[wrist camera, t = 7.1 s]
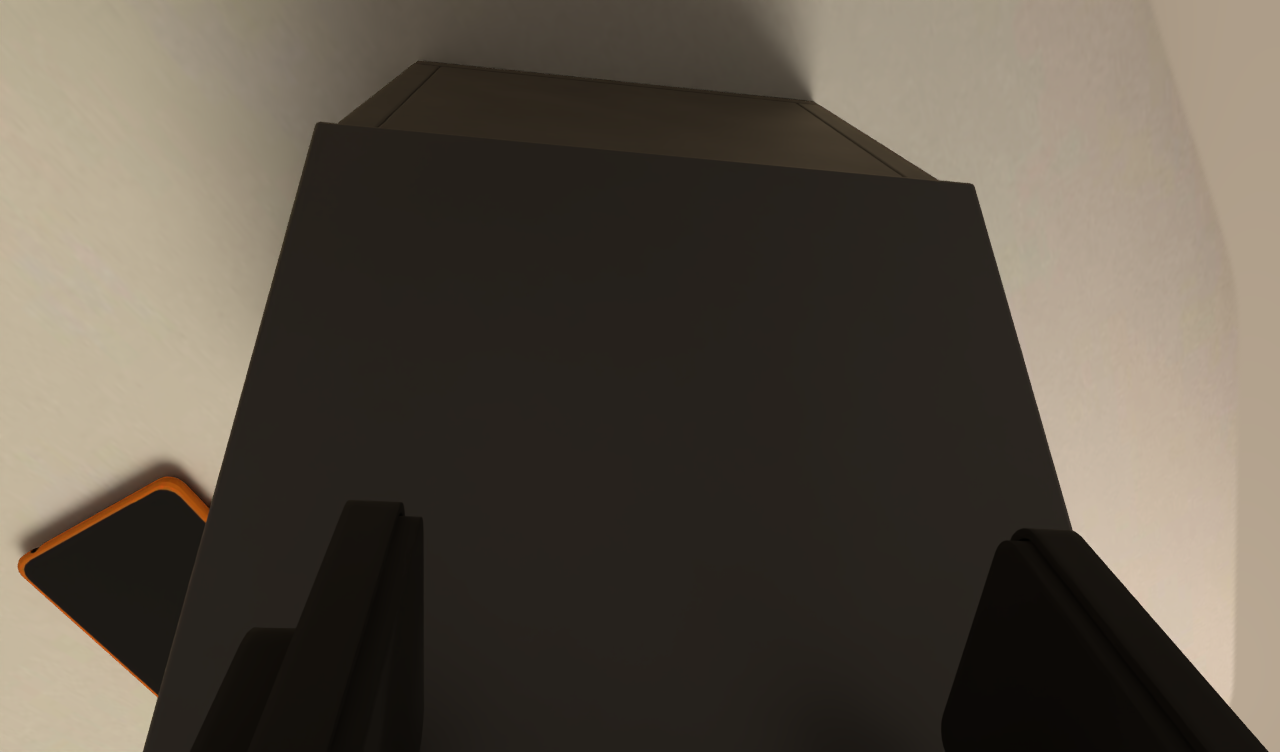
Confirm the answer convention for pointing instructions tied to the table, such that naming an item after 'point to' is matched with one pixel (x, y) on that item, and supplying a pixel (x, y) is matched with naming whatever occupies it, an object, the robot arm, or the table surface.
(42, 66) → the table surface
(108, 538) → the smartphone
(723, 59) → the table surface
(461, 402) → the storage bin lid
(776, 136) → the dark grey storage bin
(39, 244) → the table surface
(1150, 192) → the table surface
